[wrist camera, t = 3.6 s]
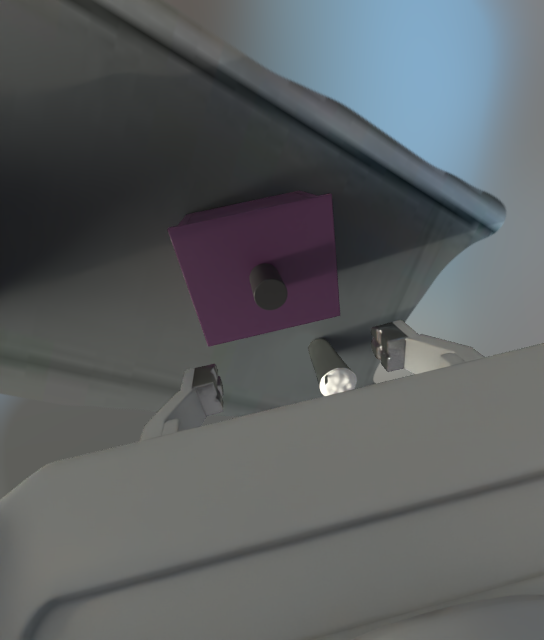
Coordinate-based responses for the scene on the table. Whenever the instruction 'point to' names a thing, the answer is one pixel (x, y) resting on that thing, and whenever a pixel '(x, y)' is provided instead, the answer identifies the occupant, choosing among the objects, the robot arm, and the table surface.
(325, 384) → the milkshake
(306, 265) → the lid
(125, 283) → the table surface
